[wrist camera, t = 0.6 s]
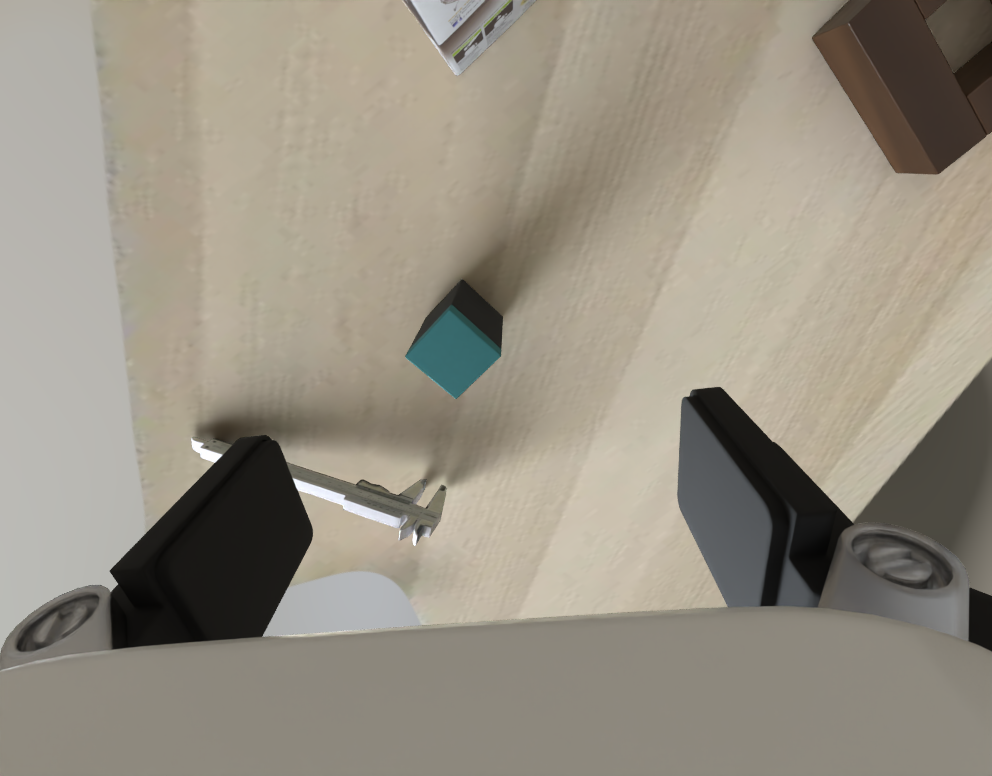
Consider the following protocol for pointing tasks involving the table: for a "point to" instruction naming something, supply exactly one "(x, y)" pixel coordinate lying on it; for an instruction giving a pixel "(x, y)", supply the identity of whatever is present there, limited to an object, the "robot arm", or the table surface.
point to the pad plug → (458, 340)
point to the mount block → (908, 83)
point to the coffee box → (465, 25)
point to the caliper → (358, 495)
